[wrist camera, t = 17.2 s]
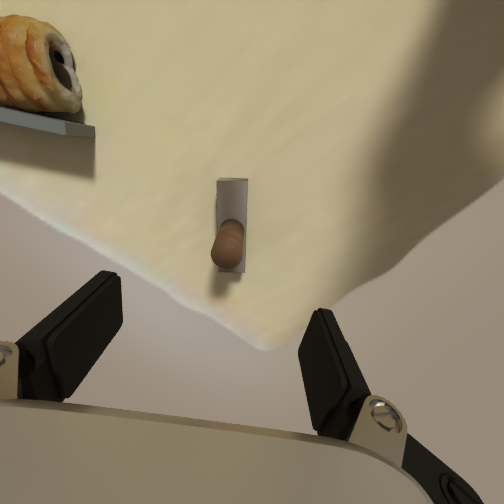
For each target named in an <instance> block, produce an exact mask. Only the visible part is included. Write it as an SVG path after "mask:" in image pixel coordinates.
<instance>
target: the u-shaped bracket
mask: <svg viewBox="0 0 504 504" xmlns="http://www.w3.org/2000/svg"><path fill="white" fill-rule="evenodd" d="M0 121H1V122H5V123H10V124H15V125H19V126H24V127H29V128H33V129H38V130H43V131H47V132H52V133H57V134H61V135H66V136H80V137H93V138H95V127H94V126H90V125H85V124H81V123H76V122H71V121H67V120H62V119H58V118H53V117H49V116H44V115H40V114H35V113H29V112H26V111H21V110H17V109H12V108H8V107H3V106H0Z"/></svg>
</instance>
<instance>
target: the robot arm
mask: <svg viewBox="0 0 504 504" xmlns="http://www.w3.org/2000/svg"><path fill="white" fill-rule="evenodd" d="M122 323H123V314H122V293H121V278H120V277H119V276H117V273H115V272H109V271H100V272H99V273H98V274H97V275H95V276H94V277H93V278H92V279H91V280H89V281H88V282H87V283H86V284H85V285H83V286H82V287H81V288H80V289H79V290H77V291H76V292H75V293H74V294H73V295H72V296H70V297H69V298H68V299H67V300H66V301H64V302H63V303H62V304H61V305H60V306H58V307H57V308H56V309H55V310H54V311H52V312H51V313H50V314H49V315H48V316H47V317H46V318H44V319H43V320H42V321H41V322H39V323H38V324H37V325H36V326H34V327H33V328H32V329H31V330H30V331H29V332H27V333H26V334H25V335H24V336H23V337H21V338H20V339H19V340H18V341H17V342H15V343H12V342H8V341H0V504H484V503H483V502H482V500H481V499H480V497H479V496H478V494H477V493H476V492H475V491H474V490H473V488H472V487H471V486H470V485H469V484H468V483H467V482H466V481H465V480H463V479H462V478H461V477H460V476H459V475H458V474H456V473H455V472H454V471H453V470H452V469H450V468H449V467H448V466H447V465H445V464H444V463H443V462H442V461H441V460H440V459H438V458H437V457H436V456H435V455H433V454H432V453H431V452H430V451H429V450H427V449H426V448H425V447H424V446H423V445H421V444H420V443H419V442H418V441H417V440H415V439H414V438H413V437H412V436H411V435H409V434H408V433H407V424H406V421H405V419H404V417H403V415H402V414H401V412H400V411H399V410H398V409H397V408H396V407H395V406H394V405H393V404H392V403H391V402H390V401H388V400H386V399H385V398H383V397H380V396H377V395H371V392H370V390H369V388H368V386H367V384H366V382H365V379H364V377H363V375H362V373H361V371H360V369H359V366H358V364H357V362H356V360H355V358H354V356H353V353H352V351H351V349H350V347H349V345H348V343H347V342H346V341H345V339H344V336H343V334H342V332H341V330H340V328H339V325H338V324H337V321H336V319H335V317H334V314H333V312H332V311H331V310H328V309H323V308H319V309H318V310H315V311H314V312H313V314H312V317H311V319H310V322H309V324H308V327H307V329H306V332H305V334H304V336H303V339H302V342H301V344H300V347H299V349H298V357H299V362H300V367H301V372H302V377H303V381H304V387H305V392H306V396H307V402H308V406H309V411H310V416H311V421H312V426H313V429H314V430H315V431H317V434H318V436H317V435H310V434H304V433H297V432H291V431H284V430H277V429H269V428H262V427H254V426H247V425H240V424H232V423H225V422H217V421H209V420H201V419H193V418H186V417H178V416H171V415H163V414H155V413H147V412H138V411H131V410H123V409H115V408H106V407H97V406H90V405H81V404H72V403H63V401H64V399H65V398H69V397H70V396H71V395H72V394H73V393H74V391H75V390H76V389H77V387H78V386H79V384H80V383H81V382H82V380H83V379H84V378H85V376H86V375H87V374H88V372H89V370H90V369H91V368H92V366H93V365H94V364H95V362H96V361H97V360H98V358H99V357H100V356H101V354H102V353H103V351H104V350H105V348H106V347H107V346H108V344H109V343H110V342H111V340H112V339H113V337H114V336H115V335H116V333H117V332H118V330H119V329H120V327H121V326H122Z"/></svg>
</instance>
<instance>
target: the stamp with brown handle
mask: <svg viewBox="0 0 504 504" xmlns="http://www.w3.org/2000/svg"><path fill="white" fill-rule="evenodd" d="M247 191H248V179H243V178H219V179H218V180H217V221H218V234H217V236H216V239H215V242H214V244H213V247H212V250H211V258H212V260H213V262H214V263H215V264H216V265H217V266H219V272H239V273H245V258H246V225H247Z"/></svg>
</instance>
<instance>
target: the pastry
mask: <svg viewBox="0 0 504 504" xmlns="http://www.w3.org/2000/svg"><path fill="white" fill-rule="evenodd" d="M81 99H82V92H81V86H80V84H79V82H78V79H77V76H76V74H75V72H74V70H73V60H72V55H71V51H70V47H69V45H68V43H67V42H66V40H65V39H64V37H63V36H62V34H61V33H60V32H59V31H58V30H57V29H55V28H54V27H53V26H52V25H50V24H49V23H47V22H40V21H38V20H36V19H34V18H31V17H25V16H19V15H10V16H5V17H0V103H2V104H4V105H7V106H12V107H17V108H21V109H23V110H25V111H27V112H29V113H39V112H41V111H43V112H69V113H72V114H74V113H76V112H78V111H79V110H80V108H81V106H82V102H81Z"/></svg>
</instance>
